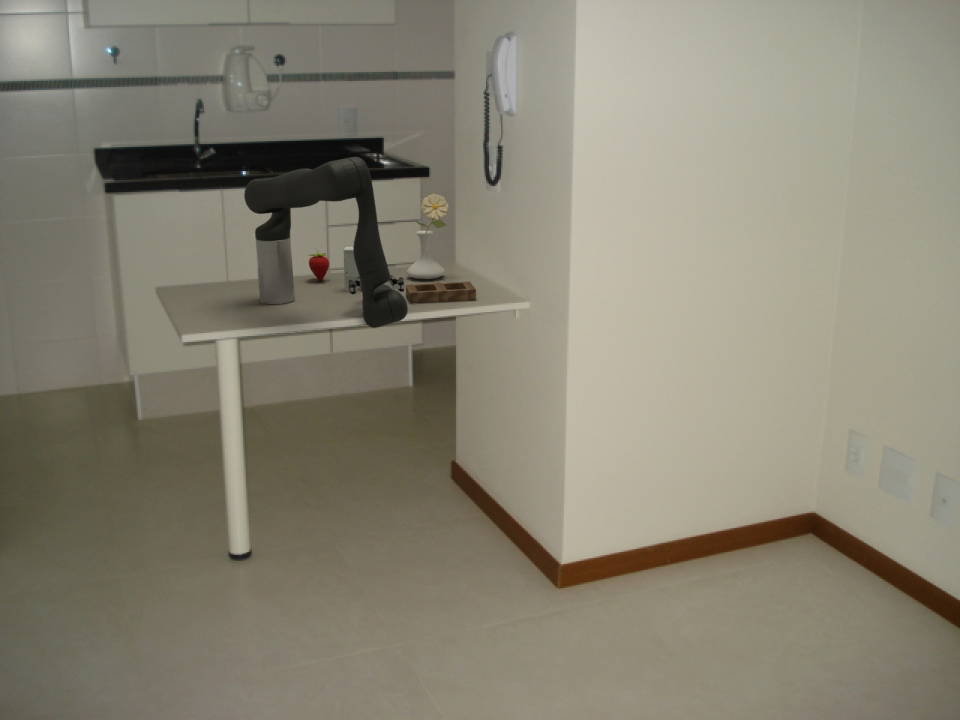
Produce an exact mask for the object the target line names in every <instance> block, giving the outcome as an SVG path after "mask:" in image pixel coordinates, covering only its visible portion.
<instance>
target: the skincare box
mask: <svg viewBox="0 0 960 720" xmlns="http://www.w3.org/2000/svg"><path fill="white" fill-rule="evenodd" d="M353 247H354V246H346V247H344V249H343V272H344V274H343V275H344V276H343V277H344V292H350V291H349V282H348V280H353V281H355V278H357V277H359V276H360V275H359V273H358V270H357V266H356V263H355V259H354V253H353Z"/></svg>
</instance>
